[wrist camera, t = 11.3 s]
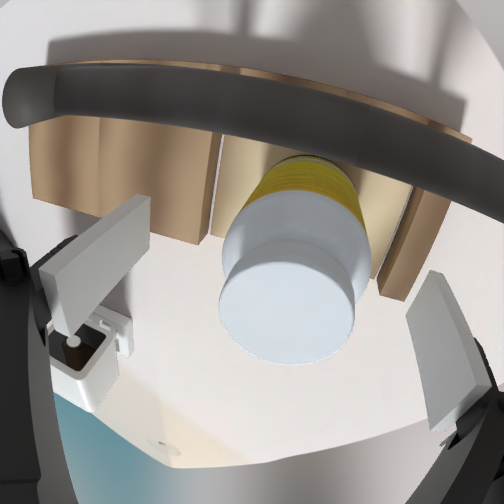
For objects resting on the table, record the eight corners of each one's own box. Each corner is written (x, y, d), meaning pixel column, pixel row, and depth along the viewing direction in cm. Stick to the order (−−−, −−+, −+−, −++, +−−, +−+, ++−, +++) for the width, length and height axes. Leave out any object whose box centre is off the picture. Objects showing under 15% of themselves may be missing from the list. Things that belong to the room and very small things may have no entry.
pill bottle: (270, 140, 19) (202, 204, 9) (370, 169, 18) (416, 266, 8) (250, 230, 22) (187, 352, 12) (339, 256, 22) (338, 394, 12)
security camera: (135, 309, 30) (81, 382, 21) (137, 352, 33) (95, 418, 25) (86, 288, 30) (28, 349, 22) (92, 331, 34) (47, 390, 25)
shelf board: (47, 190, 25) (-84, 277, 11) (47, 65, 19) (-117, 106, 5) (399, 285, 22) (433, 495, 8) (460, 133, 16) (652, 256, 2)
